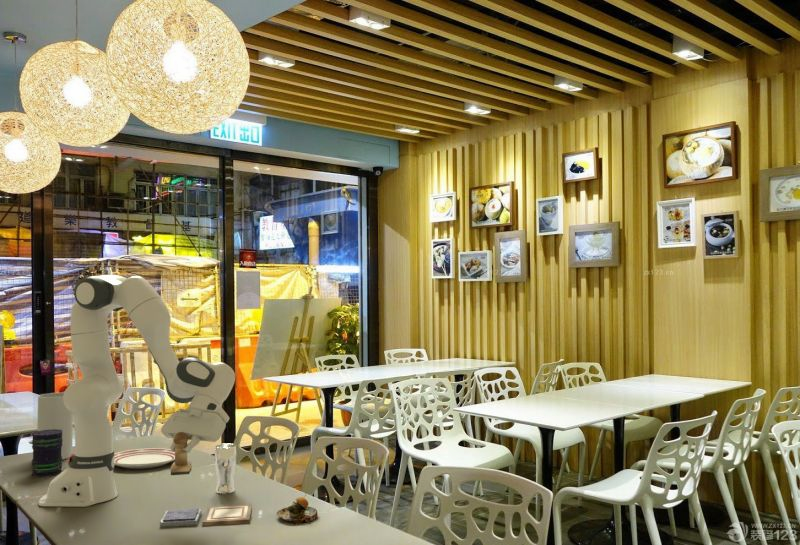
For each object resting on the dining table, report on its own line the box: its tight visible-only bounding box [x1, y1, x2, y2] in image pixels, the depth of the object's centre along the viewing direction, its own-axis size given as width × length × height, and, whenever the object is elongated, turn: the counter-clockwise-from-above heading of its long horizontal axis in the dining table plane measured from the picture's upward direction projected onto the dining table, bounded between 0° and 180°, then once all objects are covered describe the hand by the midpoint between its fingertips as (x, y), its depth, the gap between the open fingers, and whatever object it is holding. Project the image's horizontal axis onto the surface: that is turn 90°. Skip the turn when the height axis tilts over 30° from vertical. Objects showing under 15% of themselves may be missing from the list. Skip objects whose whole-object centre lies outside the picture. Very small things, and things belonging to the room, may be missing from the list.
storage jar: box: [31, 429, 63, 478], centre depth 243 cm, size 10×10×15 cm
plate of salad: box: [276, 493, 318, 525], centre depth 195 cm, size 12×12×8 cm
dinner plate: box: [114, 447, 175, 470], centre depth 258 cm, size 28×27×3 cm
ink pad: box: [159, 508, 202, 528], centre depth 192 cm, size 10×10×2 cm
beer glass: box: [214, 443, 237, 495], centre depth 221 cm, size 7×7×15 cm
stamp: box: [170, 432, 192, 476], centre depth 193 cm, size 5×5×12 cm
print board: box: [201, 504, 253, 527], centre depth 195 cm, size 13×13×1 cm
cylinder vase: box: [36, 392, 74, 461], centre depth 266 cm, size 12×12×25 cm
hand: (179, 450), depth 192 cm, fingers closed on stamp, 3 cm apart
